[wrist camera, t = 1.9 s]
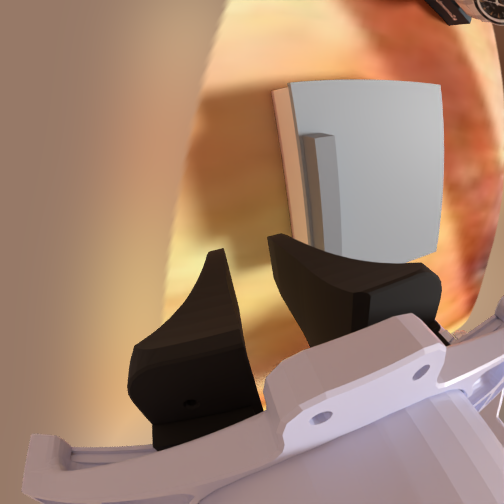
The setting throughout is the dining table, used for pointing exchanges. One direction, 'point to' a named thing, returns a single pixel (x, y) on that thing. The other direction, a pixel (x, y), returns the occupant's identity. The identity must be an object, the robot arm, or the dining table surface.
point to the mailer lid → (370, 166)
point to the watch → (469, 10)
